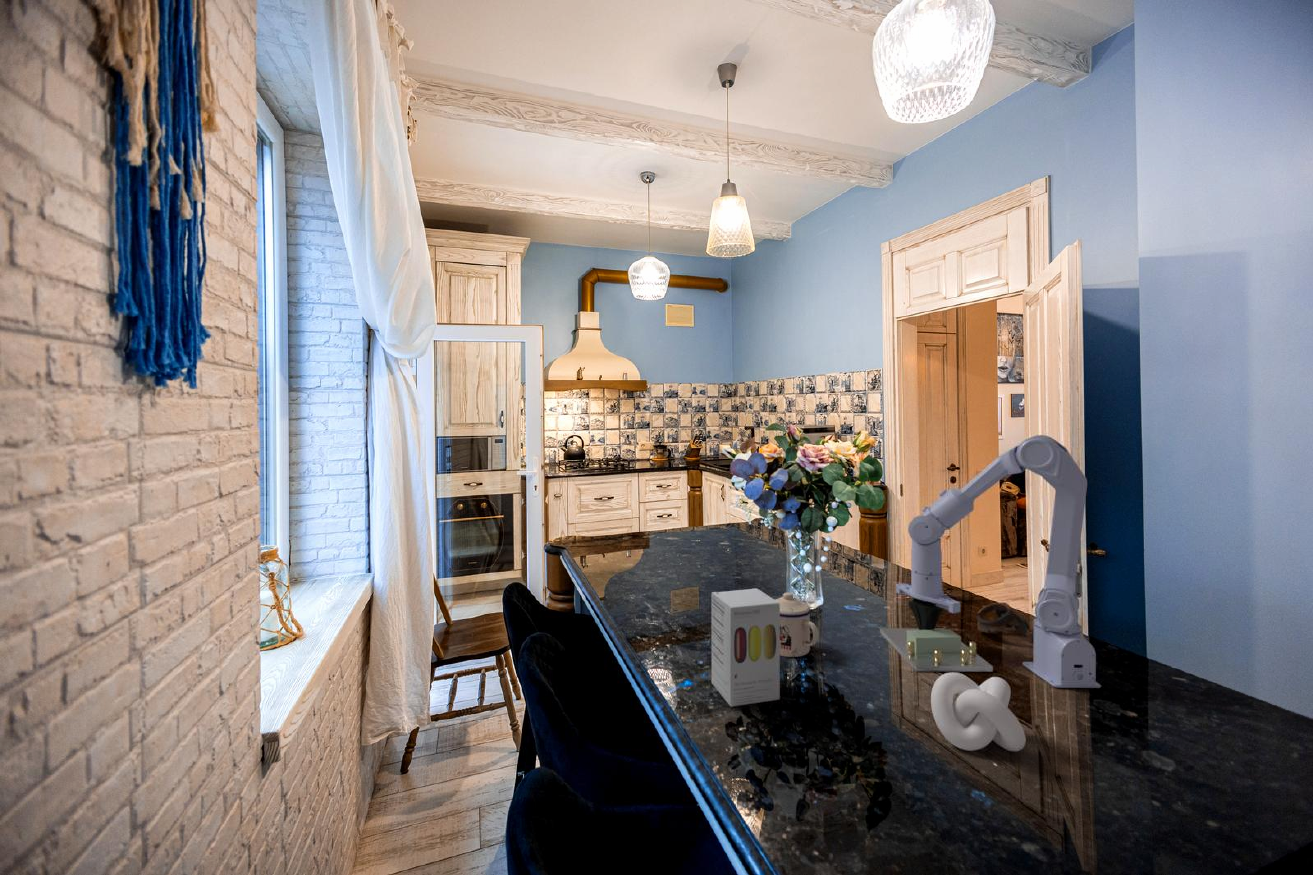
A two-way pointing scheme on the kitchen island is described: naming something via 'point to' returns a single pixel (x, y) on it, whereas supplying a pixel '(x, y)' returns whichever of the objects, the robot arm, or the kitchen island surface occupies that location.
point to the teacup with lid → (795, 627)
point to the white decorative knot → (975, 713)
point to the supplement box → (746, 646)
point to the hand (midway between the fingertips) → (926, 636)
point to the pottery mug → (1002, 620)
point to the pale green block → (934, 640)
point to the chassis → (936, 654)
